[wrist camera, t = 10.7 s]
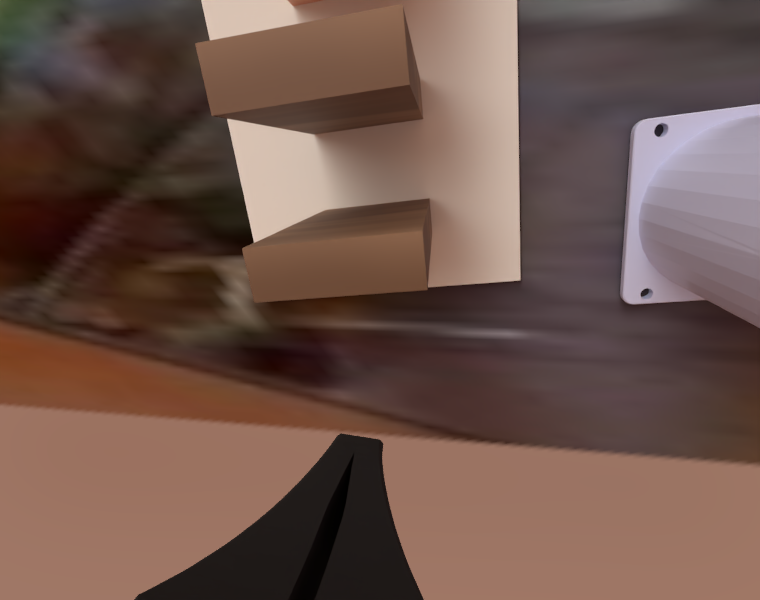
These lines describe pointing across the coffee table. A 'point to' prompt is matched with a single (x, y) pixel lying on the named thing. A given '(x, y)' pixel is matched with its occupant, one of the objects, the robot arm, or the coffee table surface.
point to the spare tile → (301, 2)
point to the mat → (403, 136)
